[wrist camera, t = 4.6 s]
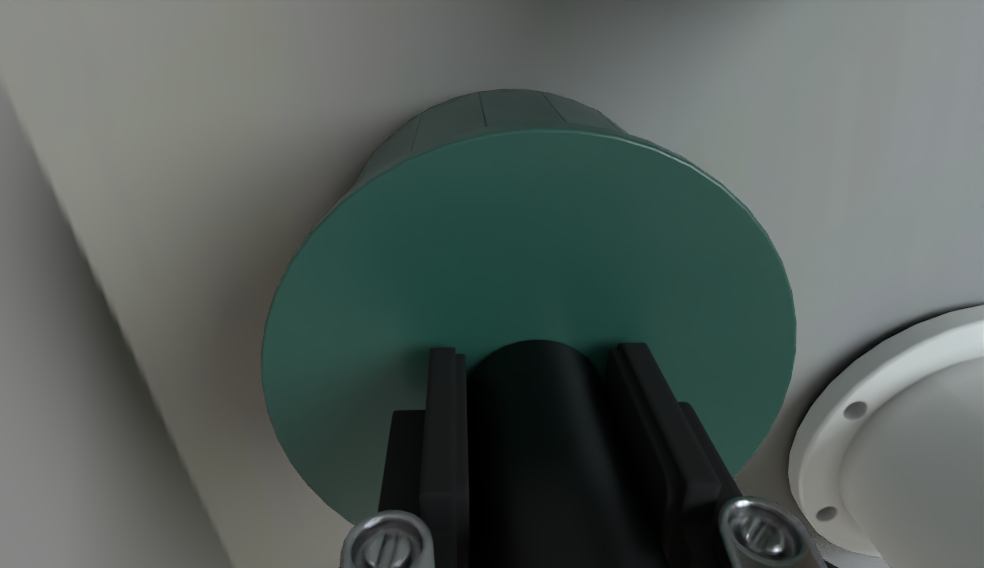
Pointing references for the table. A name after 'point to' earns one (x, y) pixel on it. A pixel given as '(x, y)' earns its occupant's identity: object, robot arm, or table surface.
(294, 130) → the table surface
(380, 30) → the table surface
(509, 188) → the lid
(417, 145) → the green round container
